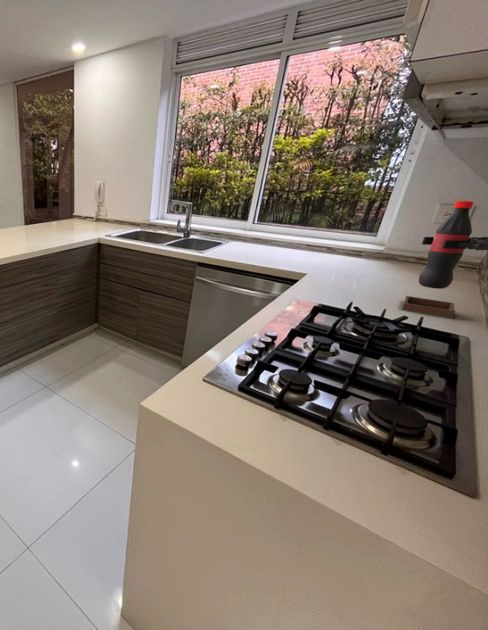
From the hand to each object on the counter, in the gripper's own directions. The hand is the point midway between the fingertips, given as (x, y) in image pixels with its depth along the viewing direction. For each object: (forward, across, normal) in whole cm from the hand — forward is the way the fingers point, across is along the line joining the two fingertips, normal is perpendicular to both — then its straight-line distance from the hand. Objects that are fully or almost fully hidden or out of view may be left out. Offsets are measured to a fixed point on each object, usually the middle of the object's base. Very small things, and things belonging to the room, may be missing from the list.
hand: (433, 242), depth 119 cm
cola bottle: (-5, 0, -16) cm, 17 cm away
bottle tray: (-2, -4, -25) cm, 25 cm away
